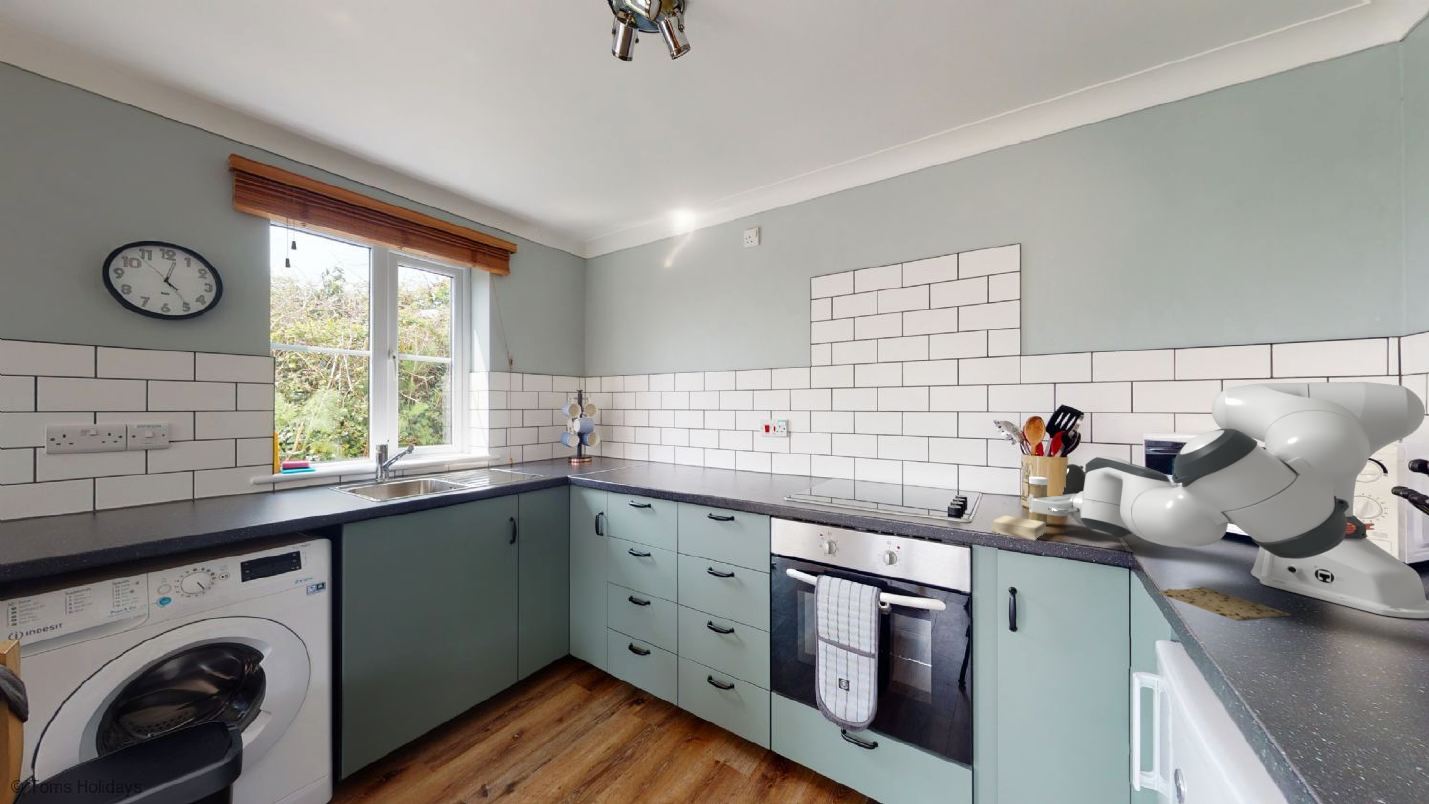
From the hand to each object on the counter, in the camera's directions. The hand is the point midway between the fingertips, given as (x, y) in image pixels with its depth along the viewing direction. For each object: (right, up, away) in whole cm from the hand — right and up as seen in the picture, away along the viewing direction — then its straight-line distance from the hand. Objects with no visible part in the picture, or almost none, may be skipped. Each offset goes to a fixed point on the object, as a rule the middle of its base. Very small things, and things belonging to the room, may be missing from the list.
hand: (1035, 499), depth 140 cm
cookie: (-4, -8, -56) cm, 56 cm away
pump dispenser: (+23, -7, +17) cm, 29 cm away
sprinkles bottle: (0, -7, -1) cm, 7 cm away
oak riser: (-11, -7, -11) cm, 17 cm away
